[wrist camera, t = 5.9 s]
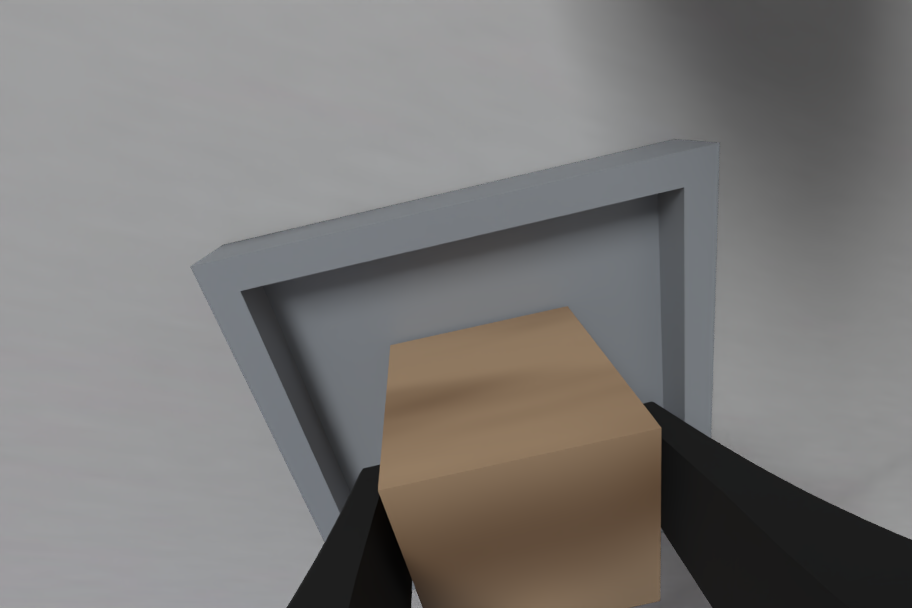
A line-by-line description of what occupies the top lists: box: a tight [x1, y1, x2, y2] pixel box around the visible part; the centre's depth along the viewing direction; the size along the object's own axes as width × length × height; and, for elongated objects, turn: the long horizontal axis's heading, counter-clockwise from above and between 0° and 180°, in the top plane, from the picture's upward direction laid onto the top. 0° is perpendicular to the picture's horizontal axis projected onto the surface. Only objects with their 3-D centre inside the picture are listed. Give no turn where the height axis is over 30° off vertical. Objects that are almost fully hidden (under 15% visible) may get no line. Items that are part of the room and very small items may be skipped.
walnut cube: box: [378, 306, 661, 608], centre depth 11 cm, size 5×5×5 cm
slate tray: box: [190, 139, 720, 590], centre depth 13 cm, size 12×12×2 cm
